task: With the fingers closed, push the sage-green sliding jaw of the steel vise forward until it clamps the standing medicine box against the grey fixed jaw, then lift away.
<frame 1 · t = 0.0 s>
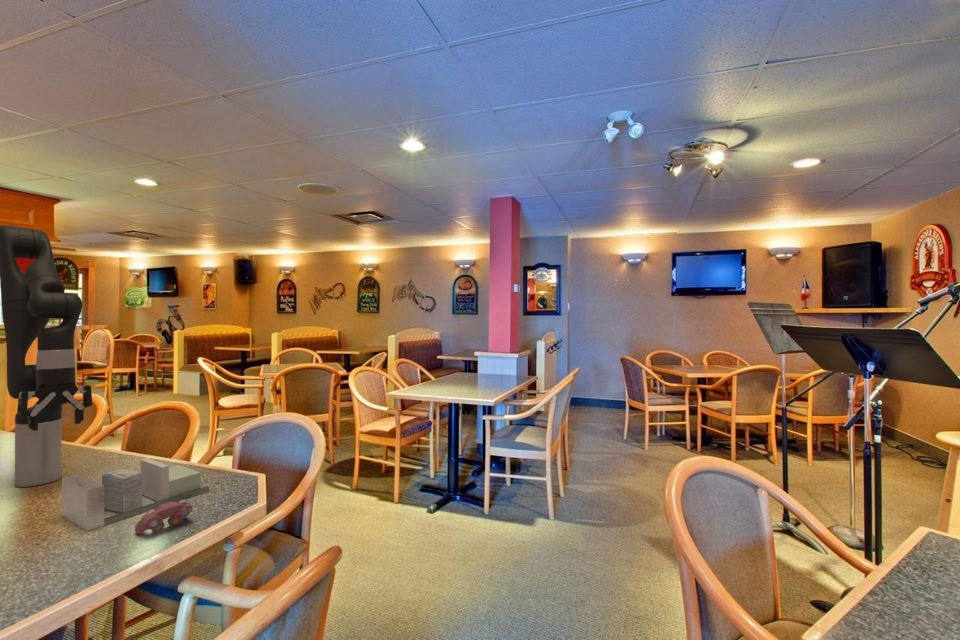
hand: (56, 426, 115), 17 cm above the table, tool pointing down, fingers open, 8 cm apart
medicine box: (122, 509, 105), resting in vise
sliding jaw: (170, 475, 114), point 5 cm above the table, slide at 4.0 cm
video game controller: (164, 528, 95), on the table
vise: (119, 508, 105), on the table
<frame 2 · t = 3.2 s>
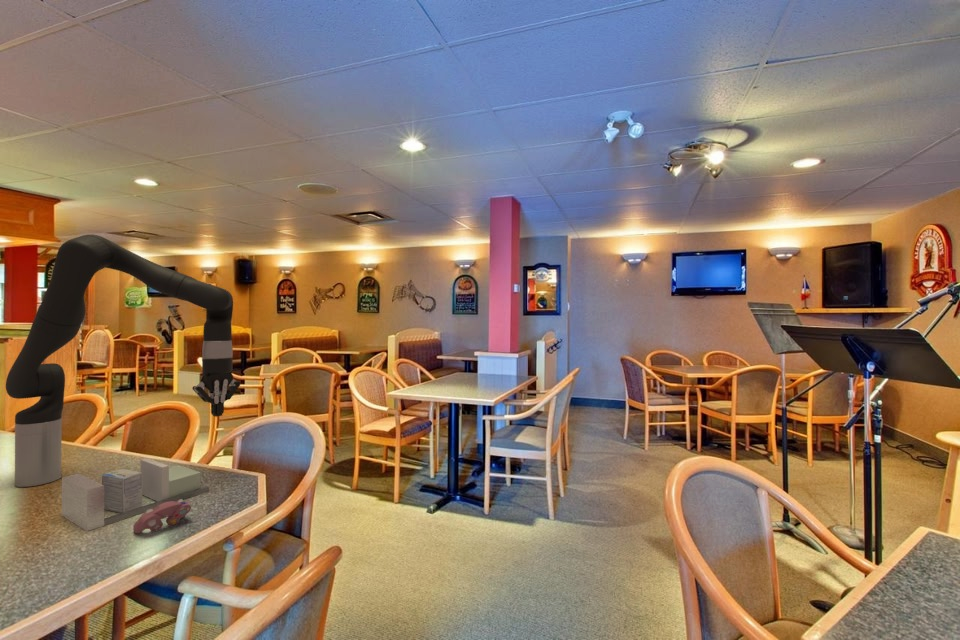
hand: (217, 415, 124), 18 cm above the table, tool pointing down, fingers closed
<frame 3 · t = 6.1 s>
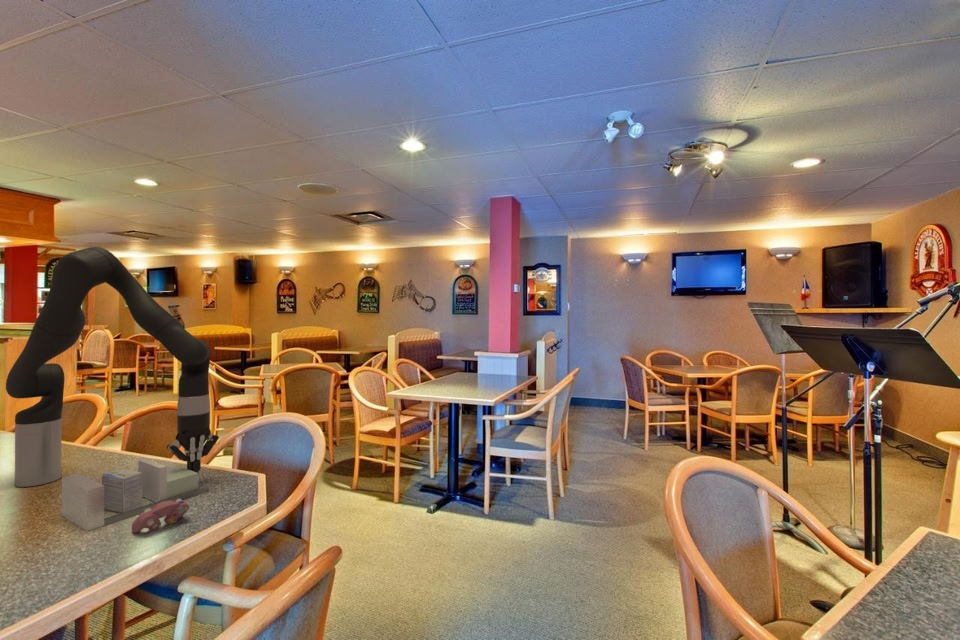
hand: (193, 473, 119), 3 cm above the table, tool pointing down, fingers closed
sliding jaw: (168, 476, 114), point 5 cm above the table, slide at 3.5 cm, touching gripper
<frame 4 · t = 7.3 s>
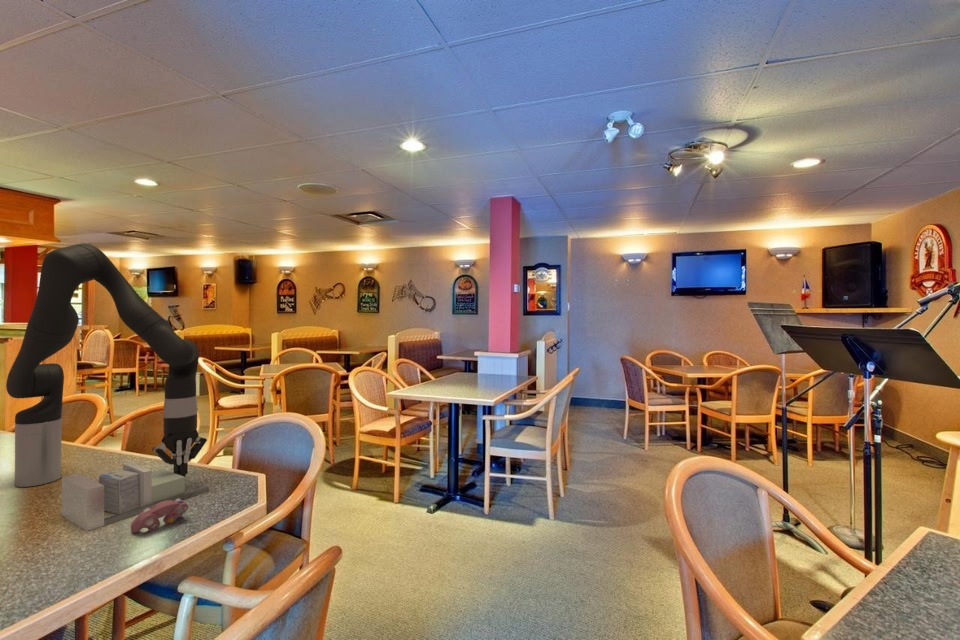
hand: (180, 477, 116), 3 cm above the table, tool pointing down, fingers closed
sliding jaw: (154, 480, 111), point 5 cm above the table, slide at 0.2 cm, touching gripper
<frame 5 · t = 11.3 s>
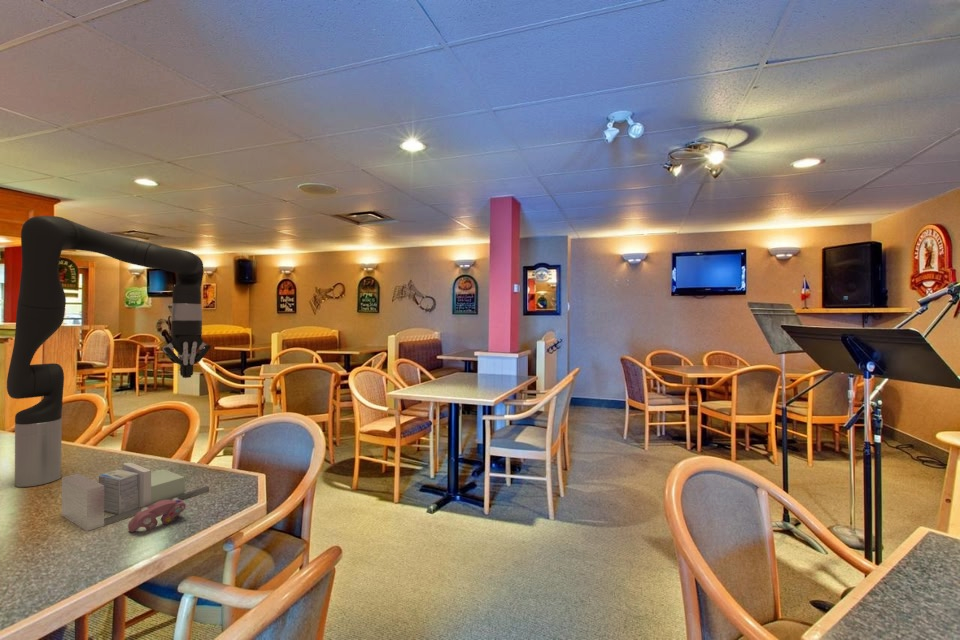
hand: (186, 377, 127), 29 cm above the table, tool pointing down, fingers closed
sliding jaw: (153, 480, 111), point 5 cm above the table, slide at 0.1 cm
at the end: sliding jaw slide at 0.1 cm; medicine box inside the target area (1.3 cm from its centre), resting in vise; medicine box tilted 0° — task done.
